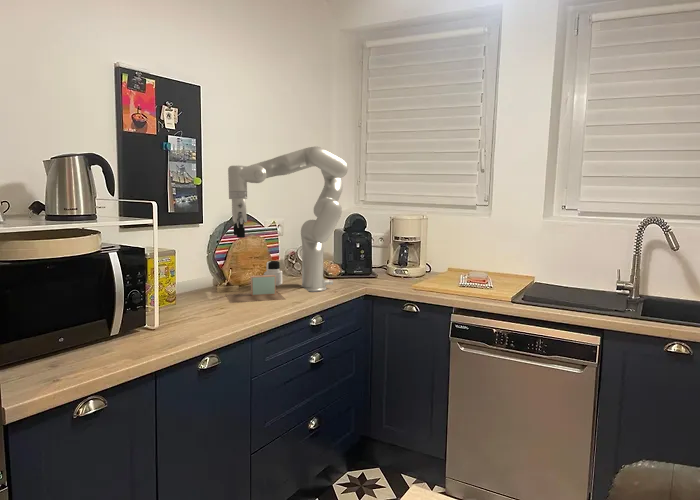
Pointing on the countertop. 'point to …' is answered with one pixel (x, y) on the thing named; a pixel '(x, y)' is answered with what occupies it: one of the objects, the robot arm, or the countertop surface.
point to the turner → (228, 289)
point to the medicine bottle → (274, 271)
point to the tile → (263, 285)
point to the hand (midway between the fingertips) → (239, 236)
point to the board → (252, 297)
